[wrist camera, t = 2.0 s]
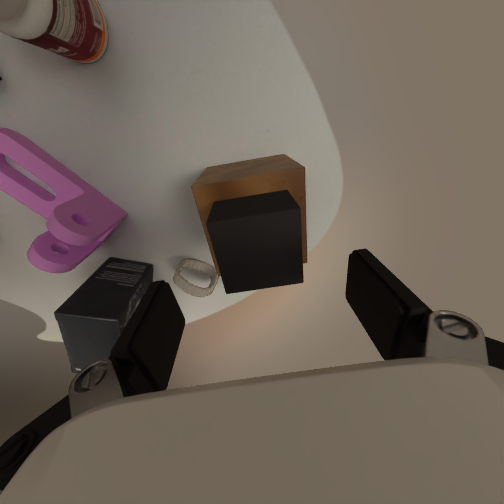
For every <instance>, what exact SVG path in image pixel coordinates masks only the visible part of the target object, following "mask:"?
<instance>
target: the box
mask: <svg viewBox="0 0 504 504" xmlns="http://www.w3.org/2000/svg"><path fill="white" fill-rule="evenodd" d="M152 279H153V265H151V264H146V263H142V262H134V261H128V260H122V259H117V258H111V257H110V258H109V259H108V260H106V261H105V262H104V263H103V264H102V265H101V266H100V267H99V268H98V269H97V270H96V271H95V272H94V273H93V274H92V275H91V276H90V277H89V278H88V279H87V280H86V281H85V283H84V284H82V285H81V286H80V287H79V288H78V289H77V290H76V291H75V292H74V293H73V294H72V295H71V296H70V297H69V298H68V299H67V300H66V301H65V302H64V303H63V304H62V305H61V306H60V307H59V308H58V309H57V310H56V311H55V312H54V314H55V318H56V320H57V322H58V325H59V328H60V332H61V334H62V338H63V341H64V344H65V348H66V351H67V354H68V357H69V361H70V364H71V370H72V372H74V373H79V372H80V371H81V370H82V369H83V368H84V367H86V366H87V365H88V364H90V363H92V362H94V361H96V360H99V359H108V358H109V356H110V354H111V353H110V352H111V350H112V348H113V346H114V345H115V343H116V341H117V340H118V338H119V336H120V334H121V333H122V331H123V329H124V328H125V326H126V324H127V323H128V321H129V319H130V317H131V316H132V314H133V312H134V311H135V309H136V307H137V305H138V304H139V302H140V300H141V299H142V297H143V295H144V294H145V292H146V290H147V288H148V287H149V285H150V283H151V282H152Z"/></svg>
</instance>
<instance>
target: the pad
mask: <svg viewBox="0 0 504 504" xmlns="http://www.w3.org/2000/svg"><path fill="white" fill-rule="evenodd" d="M206 226H207V230H208V233H209V236H210V240H211V243H212V247H213V250H214V254H215V257H216V260H217V264H218V267H219V271H220V274H221V278H222V281H223V284H224V288H225V291H226V294H230V293H237V292H244V291H251V290H257V289H264V288H270V287H278V286H284V285H291V284H298V283H303V256H302V229H301V208H300V207H299V205H298V204H297V202H296V201H295V200H294V198H293V197H292V195H291V194H290V193H289V191H288V190H281V191H275V192H269V193H263V194H257V195H251V196H245V197H239V198H233V199H227V200H221V201H215V202H214V203H213V205H212V208H211V211H210V214H209V216H208V219H207V222H206Z"/></svg>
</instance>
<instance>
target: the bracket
mask: <svg viewBox="0 0 504 504" xmlns="http://www.w3.org/2000/svg"><path fill="white" fill-rule="evenodd" d="M4 155H6V156H7V157H9V158H10V159H11V160H13V161H14V162H16V163H17V164H19V165H20V166H22V167H23V168H25V169H26V170H27V171H29V172H30V173H32V174H33V175H35V176H36V177H38V178H39V179H40V180H42V181H43V182H45V183H46V184H48V185H49V186H50V187H52V188H53V190H54V191H55V194H56V196H53V195H52V194H50V193H49V192H47V191H46V190H44V189H43V188H41V187H40V186H39V185H37V184H36V183H34V182H33V181H31V180H30V179H28V178H27V177H25V176H24V175H22V174H21V173H19V172H18V171H16V170H15V169H13V168H12V167H11V166H10V165H8V163H7V162H6V160H5V158H4ZM0 190H2V191H3V192H5V193H6V194H8V195H10V196H11V197H13V198H14V199H16V200H17V201H19V202H21V203H22V204H24V205H25V206H27V207H29V208H30V209H32V210H33V211H35V212H37V213H38V214H40V215H41V216H43V217H45V218H46V219H48V220H47V228H48V230H49V231H47V232H45V233H44V234H42V235H40V236H38V237H37V238H36V239H35V240H34V242H33V243H32V245H31V246H30V248H29V250H28V252H27V257H28V259H29V261H30V262H31V263H32V264H33V265H34V266H35V267H37V268H39V269H41V270H43V271H46V272H51V273H64V272H68V271H71V270H72V269H74V268H75V267H76V266H77V265H78V264H80V263H81V262H82V261H83V260H84V259H86V258H87V257H88V256H89V255H90V254H91V253H93V252H94V251H95V250H96V249H97V248H98V247H100V246H101V245H102V244H103V243H104V242H105V240H106V239H107V238H108V237H109V236H110V234H111V233H112V232H113V231H114V229H115V228H116V227H117V226H118V224H119V223H120V222H121V221H122V219H123V218H124V217H125V216H126V215H127V213H126V212H125V211H124V210H122V209H121V208H119V207H118V206H117V205H115V204H114V203H113V202H111V201H110V200H109V199H107V198H106V197H105V196H103V195H102V194H101V193H99V192H98V191H97V190H95V189H94V188H93V187H91V186H90V185H89V184H87V183H86V182H85V181H83V180H82V179H80V178H79V177H78V176H76V175H75V174H74V173H72V172H71V171H70V170H68V169H67V168H66V167H64V166H63V165H62V164H60V163H59V162H58V161H56V160H55V159H54V158H52V157H51V156H50V155H48V154H47V153H46V152H44V151H43V150H42V149H40V148H39V147H37V146H36V145H35V144H33V143H32V142H31V141H29V140H28V139H27V138H25V137H24V136H22V135H21V134H19V133H17V132H15V131H13V130H10V129H6V128H0ZM55 252H57V253H55ZM58 253H60V254H58Z"/></svg>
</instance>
